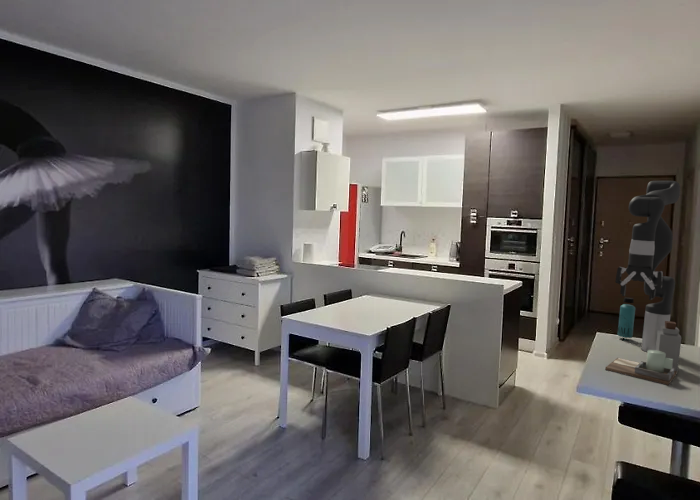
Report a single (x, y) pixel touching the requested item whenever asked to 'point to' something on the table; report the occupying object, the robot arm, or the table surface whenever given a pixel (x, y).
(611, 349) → the table surface
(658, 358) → the pale green rounded piece
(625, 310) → the beverage bottle
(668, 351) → the perfume bottle
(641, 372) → the wooden panel with label
